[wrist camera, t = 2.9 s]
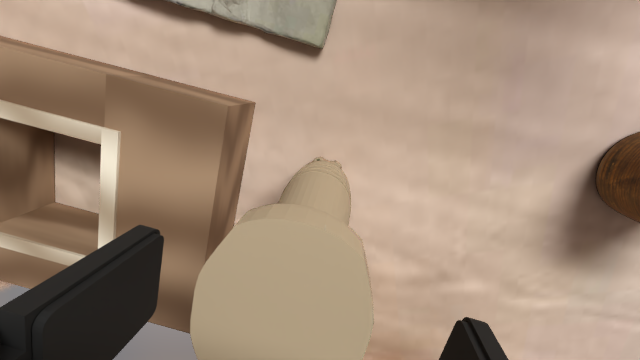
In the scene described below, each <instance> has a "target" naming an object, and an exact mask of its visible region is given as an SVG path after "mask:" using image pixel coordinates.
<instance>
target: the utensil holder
mask: <svg viewBox="0 0 640 360" xmlns="http://www.w3.org/2000/svg"><path fill="white" fill-rule="evenodd" d="M596 185H597V190H598V192H599V195H600V196H601V198H602V199H603V201H604V202H605V203H606V204H607V205H608V206H610V207H611V208H613V209H614V210H616V211H617V212H619V213H621V214H623V215H625V216H627V217H629V218H631V219H633V220H635V221H637V222H639V223H640V132H638V133H635V134H632V135H630V136H628V137H626V138H624V139H623V140H621V141H619V142H618V143H617V144H615V145H614V146H613V147H612V148H611V149H610V150H609V151H608V152H607V153H606V155H605V156H604V158H603V159H602V161H601V163H600V165H599V167H598V170H597V175H596Z"/></svg>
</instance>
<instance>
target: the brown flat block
mask: <svg viewBox="0 0 640 360" xmlns="http://www.w3.org/2000/svg"><path fill="white" fill-rule="evenodd" d="M254 108H255V102H252V101H248V100H244V99H240V98H236V97H232V96H229V95H225V94H221V93H217V92H213V91H209V90H206V89H202V88H198V87H194V86H190V85H186V84H183V83H179V82H175V81H171V80H167V79H163V78H160V77H156V76H152V75H148V74H144V73H140V72H137V71H133V70H129V69H125V68H121V67H117V66H114V65H110V64H106V63H102V62H98V61H94V60H91V59H87V58H83V57H79V56H75V55H71V54H68V53H64V52H60V51H56V50H52V49H48V48H45V47H41V46H37V45H33V44H29V43H25V42H22V41H18V40H14V39H10V38H6V37H2V36H0V280H1V281H4V282H8V283H11V284H15V285H19V286H22V287H26V288H29V289H32V288H34V287H35V286H37V285H39V284H40V283H42V282H44V281H45V280H47V279H49V278H50V277H52V276H54V275H55V274H57V273H59V272H60V271H62V270H64V269H65V268H67V267H69V266H70V265H72V264H74V263H75V262H77V261H79V260H80V259H82V258H84V257H85V256H87V255H89V254H90V253H92V252H94V251H95V250H97V249H99V248H101V247H102V246H104V245H106V244H107V243H109V242H111V241H112V240H114V239H116V238H117V237H119V236H121V235H122V234H124V233H126V232H127V231H129V230H131V229H132V228H134V227H136V226H138V225H144V226H148V227H151V228H155V229H158V230H159V231H160V235H162V236H163V237H164V246H163V255H162V264H161V273H160V282H159V291H158V300H157V307H156V310H155V312H154V314H153V316H152V317H151V318H150V319H149V320H148V322H151V323H154V324H158V325H161V326H165V327H169V328H172V329H176V330H179V331H183V332H186V333H190V319H191V312H192V305H193V297H194V290H195V286H196V283H197V279H198V275H199V273H200V272H201V270H202V268H203V266H204V265H205V263H206V261H207V260H208V259H209V257H210V256H211V255H212V253H213V252H214V251H215V250H216V248H217V247H218V246H219V245H220V243H221V242H222V241H223V240H224V238H225V237H226V236H227V235H228V234H229V232H230V231H231V230H232V229H233V226H234V221H235V215H236V209H237V204H238V198H239V192H240V187H241V181H242V175H243V170H244V164H245V158H246V153H247V147H248V141H249V136H250V130H251V125H252V119H253V113H254ZM54 132H56V133H60V134H64V135H67V136H71V137H75V138H78V139H82V140H86V141H90V142H93V143H97V144H101V165H100V197H99V214H96V213H93V212H89V211H85V210H82V209H78V208H74V207H71V206H67V205H63V204H60V203H56V202H55V178H54Z"/></svg>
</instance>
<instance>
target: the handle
mask: <svg viewBox="0 0 640 360" xmlns="http://www.w3.org/2000/svg"><path fill="white" fill-rule="evenodd" d="M350 212H351V194H350V188H349V183H348V180H347V177H346V175H345V174H344V172H343V171H342V167H341V164H340V163H339V162H337V161H328V160H325V159H324V158H323V157H319V158H315V159H314V161H313V162H311V163H309V164H307V165H306V166H304V167H303V168H301V169H300V170H299V171H298V172H297V173H296V174H295V175H294V177H293V178H292V179H291V181H290V182H289V184H288V185H287V186H286V188H285V190H284V192H283V194H282V196H281V198H280V200H279V203H276V204H270V205H265V206H261V207H258V208H255V209H252V210H249V211H248V212H247V213H246V214H245V215H244V216H243V217H242V218H241V219H240V221H239V222H238V223H237V224H236V225H235V226H234V228H233V229H232V230H231V231H230V232H229V234H228V235H227V236H226V237H225V238H224V240H223V241H222V242H221V243H220V245H219V246H218V247H217V248H216V250H215V251H214V252H213V253H212V255H211V256H210V257H209V259H208V260H207V261H206V263H205V265H204V266H203V268H202V270H201V272H200V273H199V275H198V279H197V283H196V286H195V290H194V297H193V305H192V312H191V319H190V335H191V340H192V344H193V348H194V350H195V354H196V356H197V359H198V360H363V357H364V354H365V351H366V349H367V346H368V343H369V340H370V337H371V333H372V329H373V324H374V312H373V299H372V290H371V283H370V277H369V271H368V266H367V261H366V256H365V251H364V247H363V242H362V239H361V238H360V237H359V236H358V235H357V234H356V233H355V232H354V231H353V230H352V229H351V228H350V227H349V226H348V224H349V218H350Z"/></svg>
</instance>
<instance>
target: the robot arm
mask: <svg viewBox="0 0 640 360" xmlns="http://www.w3.org/2000/svg"><path fill="white" fill-rule="evenodd" d="M163 246H164V237H163V236H162V235H160V231H159V230H158V229H155V228H151V227H148V226H144V225H138V226H136V227H134V228H132V229H131V230H129V231H127V232H126V233H124V234H122V235H121V236H119V237H117V238H116V239H114V240H112V241H111V242H109V243H107V244H106V245H104V246H102V247H101V248H99V249H97V250H95V251H94V252H92V253H90V254H89V255H87V256H85V257H84V258H82V259H80V260H79V261H77V262H75V263H74V264H72V265H70V266H69V267H67V268H65V269H64V270H62V271H60V272H59V273H57V274H55V275H54V276H52V277H50V278H49V279H47V280H45V281H44V282H42V283H40V284H39V285H37V286H35V287H34V288H32V289H30V290H29V291H27V292H25V293H24V294H22V295H21V296H18V297H17V298H15V299H13V300H12V301H10V302H8V303H7V304H5V305H3V306H2V307H0V360H112V359H114V357H115V356H116V355H117V354H118V353H119V352H120V351H121V350H122V349H123V348H124V346H125V345H126V344H127V343H128V342H129V341H130V340H131V339H132V338H133V337H134V336H135V335H136V334H137V332H138V331H139V330H140V329H141V328H142V327H143V326H144V325H145V324H146V323H147V322H148V320H149V319H150V318H151V317H152V316H153V314H154V312H155V310H156V307H157V300H158V291H159V282H160V273H161V264H162V255H163ZM439 360H508V358H507V356H506V355H505V353H504V351H503V349H502V348H501V346H500V344H499V343H498V341H497V339H496V337H495V336H494V334H493V332H492V330H491V329H490V327H489V325H488V324H487V323H485V322H482V321H479V320H475V319H472V318H468V317H465V318H464V319H463V320H462V321H461V320H458V321H457V322H456V324H455V326H454V328H453V330H452V332H451V334H450V337H449V339H448V341H447V343H446V345H445V347H444V350H443V352H442V354H441V356H440V358H439Z"/></svg>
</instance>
